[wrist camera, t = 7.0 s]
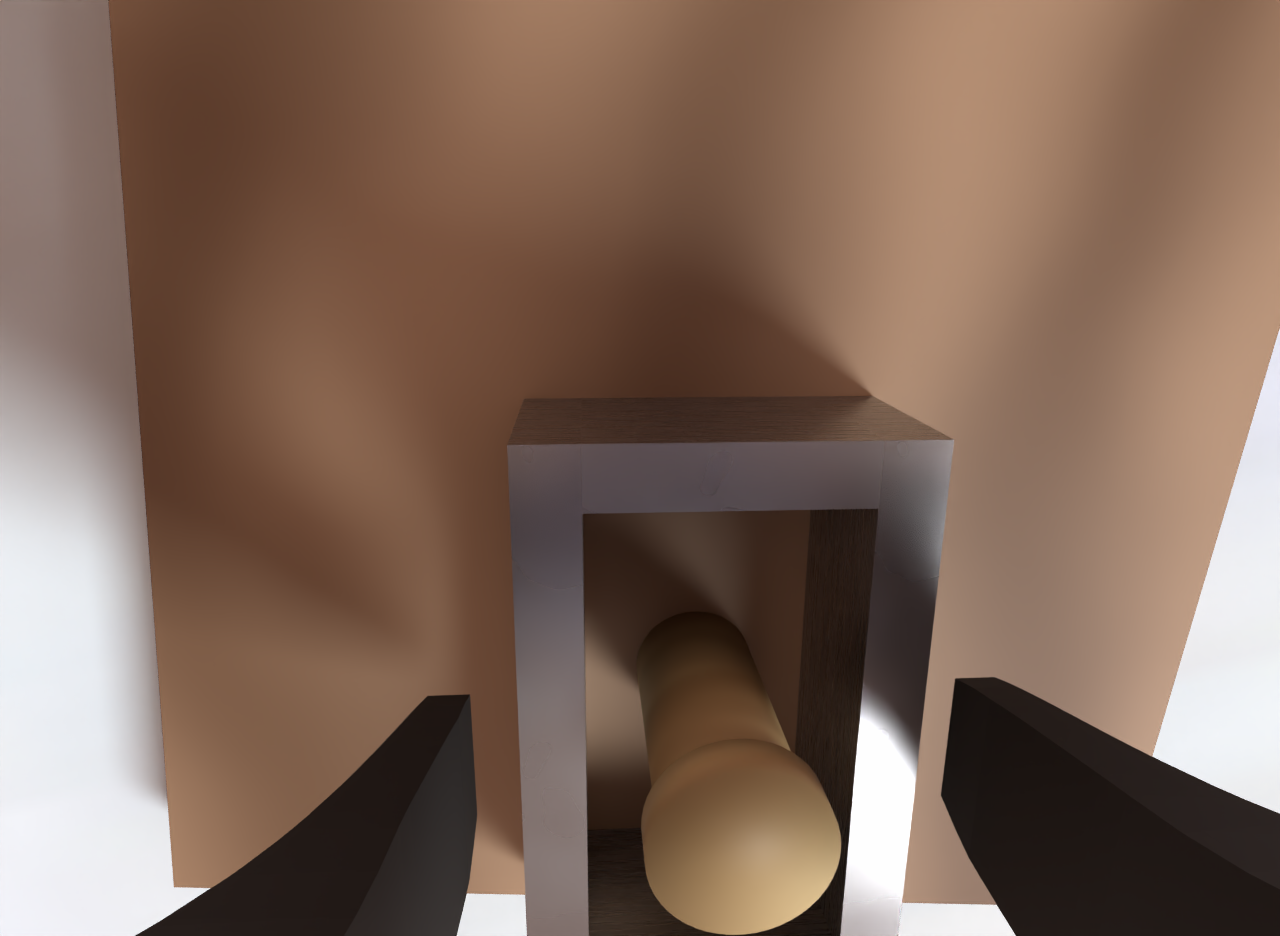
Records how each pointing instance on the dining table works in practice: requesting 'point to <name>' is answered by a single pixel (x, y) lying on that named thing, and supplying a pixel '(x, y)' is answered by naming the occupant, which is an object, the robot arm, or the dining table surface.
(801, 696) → the silver rectangular frame
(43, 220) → the dining table surface
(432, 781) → the robot arm
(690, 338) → the keeper board
